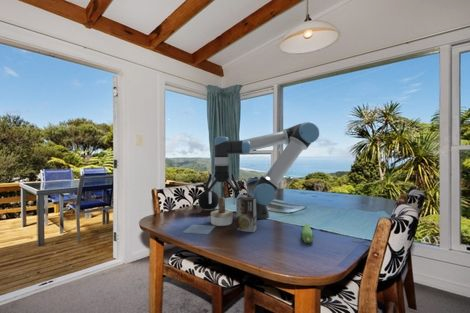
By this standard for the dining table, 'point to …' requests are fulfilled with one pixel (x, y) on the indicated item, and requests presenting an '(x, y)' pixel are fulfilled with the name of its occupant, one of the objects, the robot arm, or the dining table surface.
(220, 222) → the bowl
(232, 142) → the robot arm
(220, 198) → the lid
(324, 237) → the dining table surface
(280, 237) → the dining table surface
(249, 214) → the coffee box
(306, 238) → the green oval lump
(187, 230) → the mat
